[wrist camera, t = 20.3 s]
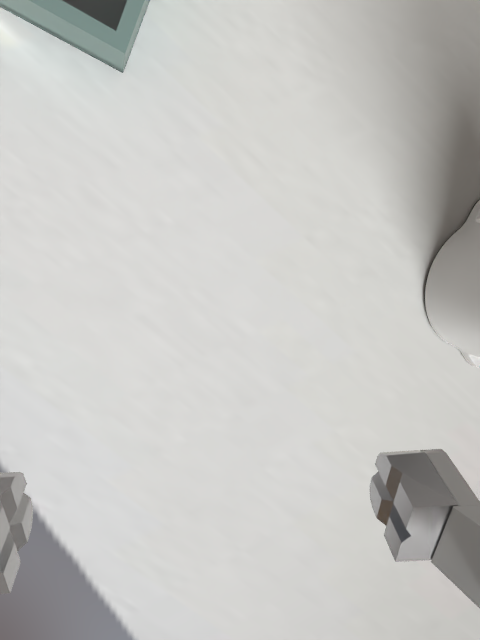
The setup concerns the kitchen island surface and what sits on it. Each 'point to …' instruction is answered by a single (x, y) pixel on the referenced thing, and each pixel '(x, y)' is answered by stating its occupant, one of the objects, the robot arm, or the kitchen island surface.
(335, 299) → the kitchen island surface
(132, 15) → the tote
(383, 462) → the robot arm
